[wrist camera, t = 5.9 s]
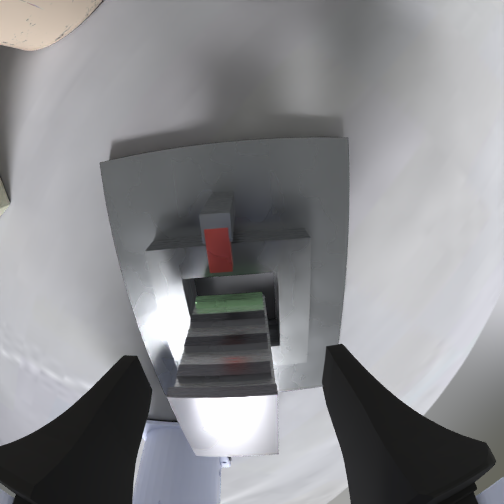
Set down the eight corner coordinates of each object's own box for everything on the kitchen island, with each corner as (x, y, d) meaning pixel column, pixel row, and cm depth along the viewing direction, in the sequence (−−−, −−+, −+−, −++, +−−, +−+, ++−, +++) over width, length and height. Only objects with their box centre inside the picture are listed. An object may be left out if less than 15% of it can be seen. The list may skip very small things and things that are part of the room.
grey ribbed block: (267, 351, 14) (278, 453, 8) (208, 355, 14) (196, 456, 8) (263, 286, 12) (277, 394, 7) (195, 291, 12) (166, 397, 7)
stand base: (328, 375, 19) (345, 428, 14) (167, 385, 19) (154, 438, 14) (341, 137, 13) (388, 138, 8) (108, 160, 13) (53, 174, 8)
